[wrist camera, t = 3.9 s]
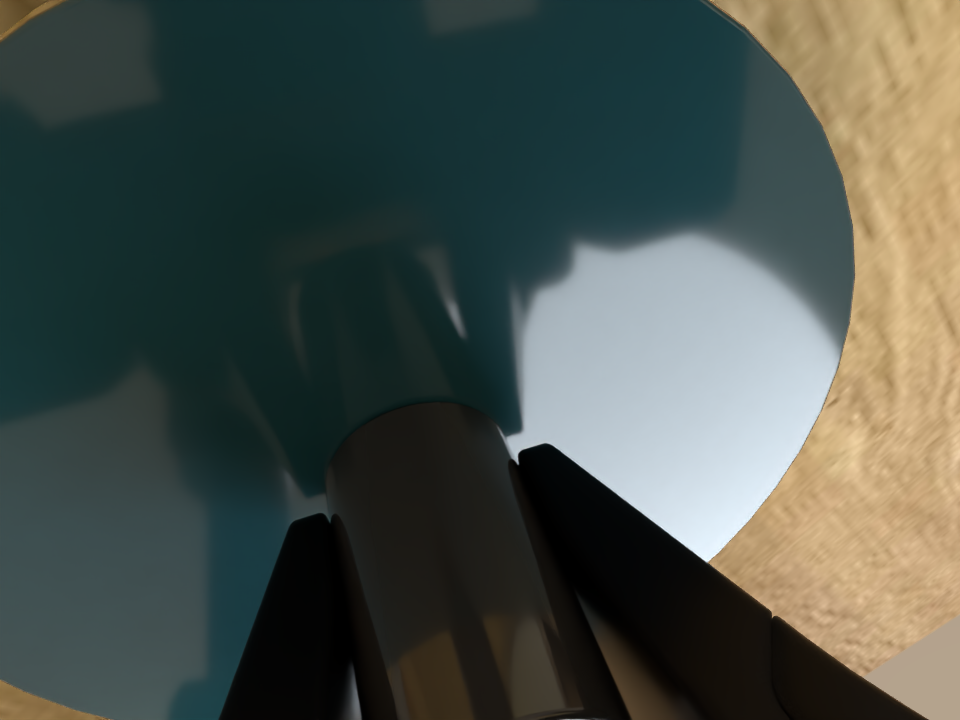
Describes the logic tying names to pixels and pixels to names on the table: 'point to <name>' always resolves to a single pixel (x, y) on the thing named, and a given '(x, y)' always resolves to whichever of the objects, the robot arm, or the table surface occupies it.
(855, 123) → the table surface
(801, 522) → the table surface
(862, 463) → the table surface
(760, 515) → the table surface
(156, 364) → the pot lid
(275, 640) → the robot arm
